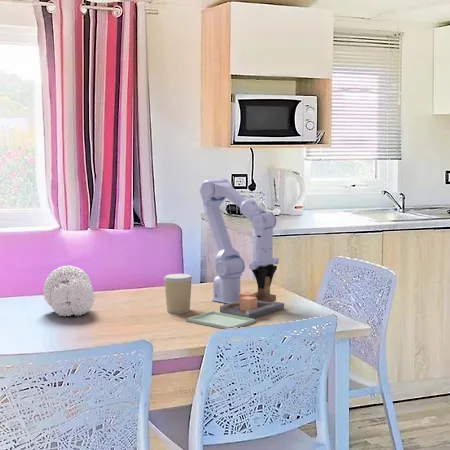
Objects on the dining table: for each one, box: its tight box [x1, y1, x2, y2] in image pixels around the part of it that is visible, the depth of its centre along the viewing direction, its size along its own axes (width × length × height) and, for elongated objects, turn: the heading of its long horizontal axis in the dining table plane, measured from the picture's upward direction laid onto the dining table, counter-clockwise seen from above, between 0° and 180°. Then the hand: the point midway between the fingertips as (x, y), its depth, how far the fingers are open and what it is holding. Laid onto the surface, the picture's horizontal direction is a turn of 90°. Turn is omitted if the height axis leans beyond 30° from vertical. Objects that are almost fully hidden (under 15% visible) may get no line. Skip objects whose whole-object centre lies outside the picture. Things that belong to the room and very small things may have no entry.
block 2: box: [240, 296, 257, 311], centre depth 246 cm, size 4×4×4 cm
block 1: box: [239, 291, 256, 305], centre depth 253 cm, size 4×4×4 cm
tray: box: [186, 310, 256, 330], centre depth 239 cm, size 18×13×1 cm
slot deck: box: [219, 300, 285, 320], centre depth 252 cm, size 12×20×3 cm, turn 141°
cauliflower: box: [42, 265, 95, 317], centre depth 251 cm, size 20×18×16 cm
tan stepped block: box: [254, 276, 277, 302], centre depth 256 cm, size 8×3×8 cm, turn 51°
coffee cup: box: [163, 273, 193, 314], centre depth 254 cm, size 9×9×12 cm
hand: (264, 287), depth 256 cm, fingers closed on tan stepped block, 3 cm apart
